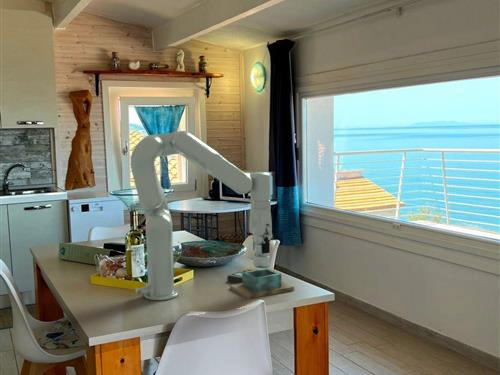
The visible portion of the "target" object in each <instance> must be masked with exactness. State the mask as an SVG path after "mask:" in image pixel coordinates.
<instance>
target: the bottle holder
mask: <svg viewBox="0 0 500 375" xmlns="http://www.w3.org/2000/svg"><path fill="white" fill-rule="evenodd" d="M258 269H259V270H253V271H247V272H242V283H239V284H236V283H232V284H229V290H231V291H233V292H235V293H237V294H239V295H240V296H243V297H245V298H246V299H248V300H249V299H255V298H256V299H257V298H261V297H265V296H271V294H272V295H276V294H277V293H278V294H282V293H281V292H283V293H288V292H287V291H289V292H293V290H294V291H295V286H293V285H292V284H289V283H288V282H285V281H282V273H280V272H278V271H275V270H273V269H270V268H269V267H267V268H258Z"/></svg>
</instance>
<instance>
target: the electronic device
mask: <svg viewBox="0 0 500 375" xmlns="http://www.w3.org/2000/svg"><path fill="white" fill-rule="evenodd" d="M259 269H260V268H251V267H248V268H245V269H243V270H239V271H237V272H235V273H232V274H229V275H227V278H226V281H227V283H231V284H239V283H242V272H247V271H253V270H259Z"/></svg>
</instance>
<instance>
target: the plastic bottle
mask: <svg viewBox="0 0 500 375" xmlns="http://www.w3.org/2000/svg"><path fill="white" fill-rule="evenodd" d="M256 232H257V231H256V228H255V227H254V228H253V236H252V238H253V237H254V250H253V251H254V252H253V258H252V260H253V261H252V262H253V263H252V264H253V266H254V267H255V268H256V269H266V268H269V267H270V265H271V257H270V252H269V253H265V254H262V244H261V243H263V242H262V236H258V235H256ZM266 234H267V232H265V234H264V235H266ZM266 237H267V236H265V237H264V238H266Z"/></svg>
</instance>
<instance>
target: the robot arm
mask: <svg viewBox="0 0 500 375" xmlns="http://www.w3.org/2000/svg"><path fill="white" fill-rule="evenodd" d="M172 155H181V156H182V157H183V158H185V159H186V160H188V161H189V162H191V164H193V165H195V166H196V167H198V168H199V169H201V170H202V171H203V172H205V173H206V174H208V175H210V176H211V177H213V178H215V179H216V180H218V181H219V182H221V183H223V185H225V186H227V187H228V188H230V189H231V190H233V191H234V192H235V193H237V194H238V195H246V194H248V193H249V192H250V209H249V210H250V211H249V222H248V224H249V225H248V226H249V228H248V230H249V233H250V234H251V236H252V241H253V244H252V246H253V251H254V237H253V228H254V227H255V228H256V231H257V232H256V235H258V236H262V242H263V243H261V244H262V254H265V253H269V254H270V248H271V247H270V243H271V240H272V238H273V233H272V231H273V226H272V225H273V223H272V212H271V202H272V201H271V175H270V173H269V172H265V171H260V172H259V171H258V172H256V171H255V172H244V171H243V170H241V169H239V168H238V167H237V166H235V165H234V164H233V163H231V162H230V161H228V160H227V159H226V158H225V157H223V156H222V155H221V153H219V152H217V151H216V150H215V149H213V148H211V146H209V145H207V144H206V143H205V142H203V141H202V140H201V139H199V138H197V137H196V136H194V134H192V133H190V132H189V131H186V130H179V131H173V132H167V133H159V134H157V133H156V134H149V135H146V136H145V137H143V138H142V139H141V140H140V141H139V142H138V143H137V144H136V145H135V146H134V148H133V150H132V152H131V155H130V169H131V174H132V177H133V181H134V185H135V188H136V192H137V197H138V198H137V199H138V201H139V203H140V205H141V206H142V210H143V213H144V218H145V220H146V222H145V236H146V237H145V238H146V239H145V240H146V256H147V258H146V259H147V283H145V286H143V287H135V294H141V295H143V294H144V298H145V299H146V300H152V301H167V300H171V299H174V298H176V297H178V296H179V290H178V289H176V288H175V279H174V276H175V275H174V273H175V272H174V250H173V248H174V247H173V220H172V214H171V212H170V208H169V205H168V200H167V198H166V194H165V191H164V188H163V187H162V186H161V184H160V180H159V177H158V173H157V170H156V166H155V161H156V159H157V158H158V157H165V156H172ZM265 232H267V234H266V235H264V234H265ZM265 236H267V237H266V238H264V237H265Z"/></svg>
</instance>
